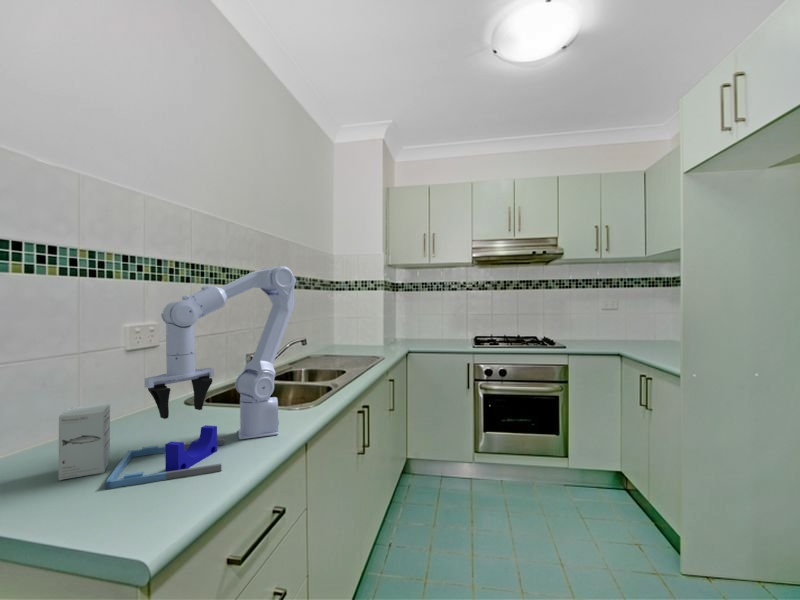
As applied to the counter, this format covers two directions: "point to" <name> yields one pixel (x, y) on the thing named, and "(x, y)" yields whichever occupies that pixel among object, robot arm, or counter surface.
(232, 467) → the counter surface
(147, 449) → the blue grey open frame
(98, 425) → the supplement box
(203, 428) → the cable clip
